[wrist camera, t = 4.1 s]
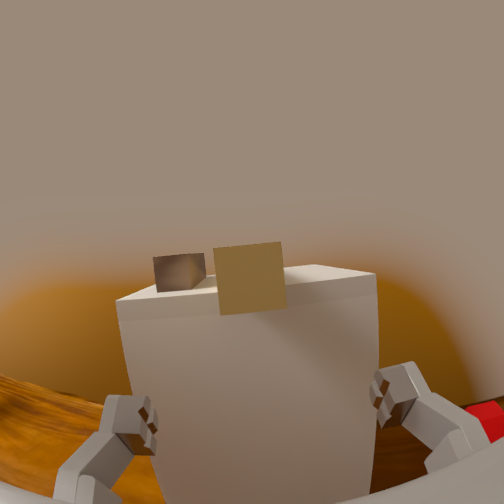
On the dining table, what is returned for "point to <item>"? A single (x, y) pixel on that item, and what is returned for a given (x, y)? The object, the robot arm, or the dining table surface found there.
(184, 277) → the walnut bar
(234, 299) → the ochre bar
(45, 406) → the dining table surface
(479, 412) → the ball
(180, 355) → the off-white stand
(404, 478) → the dining table surface
